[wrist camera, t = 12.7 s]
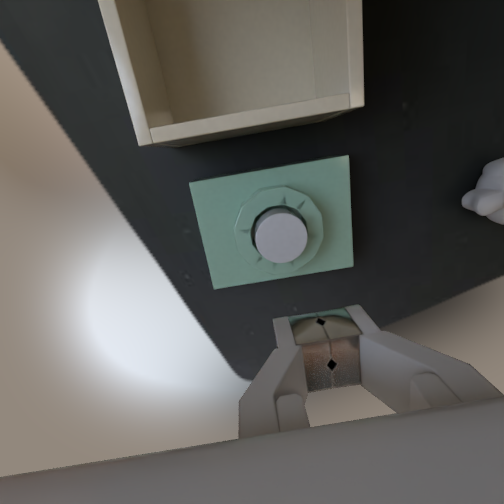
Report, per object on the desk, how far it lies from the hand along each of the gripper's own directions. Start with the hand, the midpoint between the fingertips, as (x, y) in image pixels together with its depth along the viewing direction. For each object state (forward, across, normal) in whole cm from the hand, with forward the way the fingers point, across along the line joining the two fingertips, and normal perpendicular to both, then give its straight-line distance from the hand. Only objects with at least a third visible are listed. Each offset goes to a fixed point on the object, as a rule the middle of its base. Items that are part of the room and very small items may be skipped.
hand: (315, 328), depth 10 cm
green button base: (+16, 0, 0) cm, 16 cm away
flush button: (+12, 0, 0) cm, 12 cm away
